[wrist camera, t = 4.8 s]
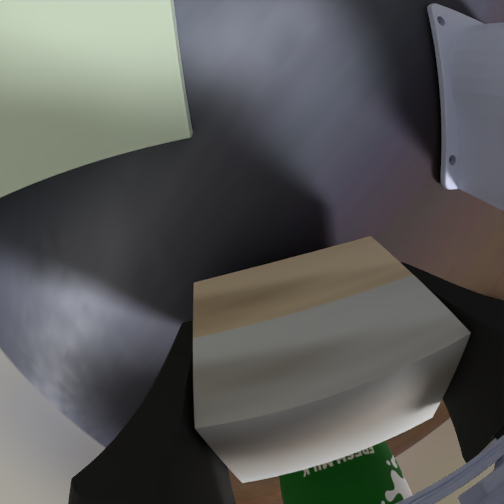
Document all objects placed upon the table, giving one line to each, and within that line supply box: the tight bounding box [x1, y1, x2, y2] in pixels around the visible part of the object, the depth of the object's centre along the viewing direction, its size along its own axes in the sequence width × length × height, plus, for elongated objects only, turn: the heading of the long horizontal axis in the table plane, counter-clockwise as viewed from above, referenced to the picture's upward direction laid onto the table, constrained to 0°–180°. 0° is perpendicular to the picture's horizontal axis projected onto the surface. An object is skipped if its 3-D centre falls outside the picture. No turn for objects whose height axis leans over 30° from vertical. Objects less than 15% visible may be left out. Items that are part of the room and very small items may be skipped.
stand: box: [0, 0, 193, 198], centre depth 6 cm, size 12×10×2 cm
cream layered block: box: [193, 236, 471, 483], centre depth 9 cm, size 4×7×6 cm, turn 102°
